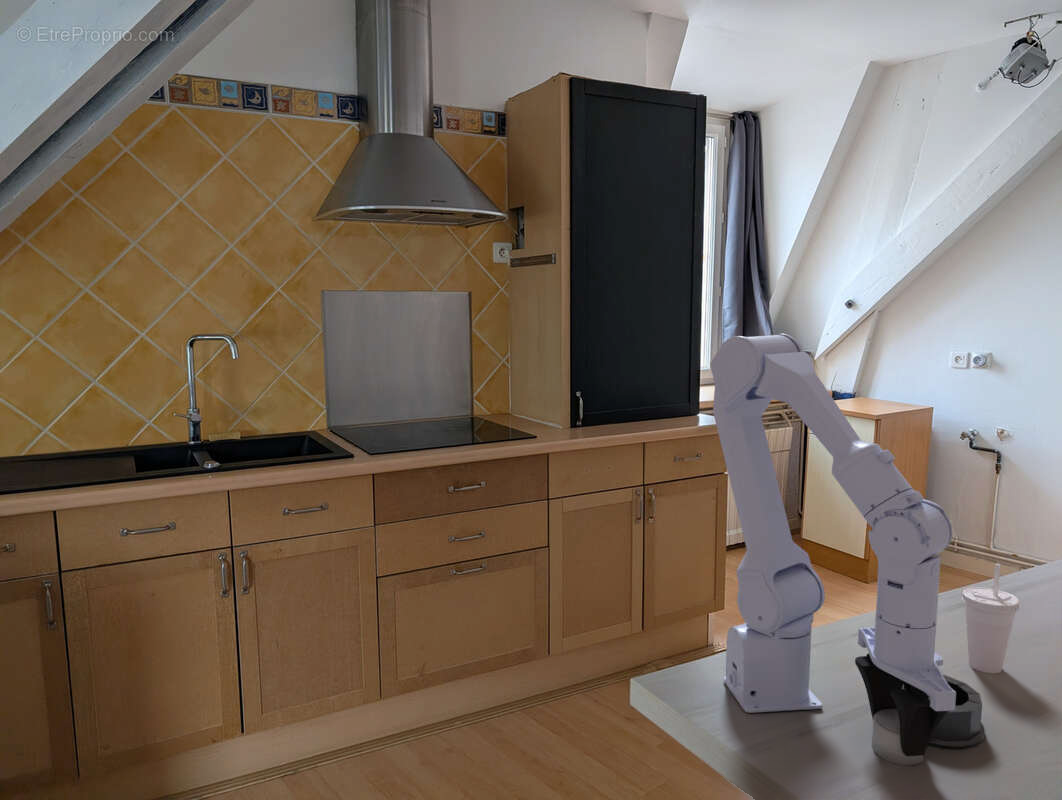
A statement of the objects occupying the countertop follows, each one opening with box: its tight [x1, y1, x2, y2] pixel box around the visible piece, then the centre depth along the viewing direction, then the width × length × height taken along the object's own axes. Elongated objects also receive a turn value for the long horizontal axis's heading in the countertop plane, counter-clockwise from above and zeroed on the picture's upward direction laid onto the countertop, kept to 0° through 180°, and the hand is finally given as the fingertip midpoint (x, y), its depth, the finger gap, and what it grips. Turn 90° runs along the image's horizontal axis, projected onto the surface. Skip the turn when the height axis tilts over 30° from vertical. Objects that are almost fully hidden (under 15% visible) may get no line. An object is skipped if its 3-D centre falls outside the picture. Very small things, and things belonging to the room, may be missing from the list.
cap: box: [871, 709, 925, 766], centre depth 81 cm, size 5×5×4 cm
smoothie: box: [961, 563, 1020, 674], centre depth 99 cm, size 6×6×14 cm
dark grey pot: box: [902, 674, 986, 750], centre depth 86 cm, size 10×10×4 cm
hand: (898, 738), depth 81 cm, fingers closed on cap, 5 cm apart
